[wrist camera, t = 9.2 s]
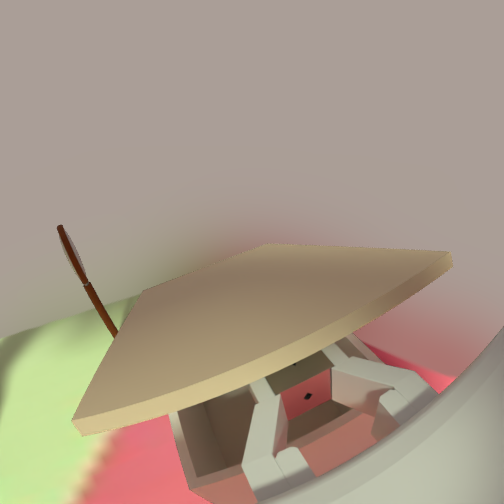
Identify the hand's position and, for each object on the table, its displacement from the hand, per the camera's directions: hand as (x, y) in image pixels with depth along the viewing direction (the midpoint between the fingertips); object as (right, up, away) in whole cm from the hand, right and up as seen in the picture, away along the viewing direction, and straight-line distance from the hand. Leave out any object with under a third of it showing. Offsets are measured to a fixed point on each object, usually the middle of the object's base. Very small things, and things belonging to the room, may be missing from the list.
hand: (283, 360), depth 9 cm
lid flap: (-3, +1, +9) cm, 9 cm away
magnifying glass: (-21, -10, +31) cm, 39 cm away
